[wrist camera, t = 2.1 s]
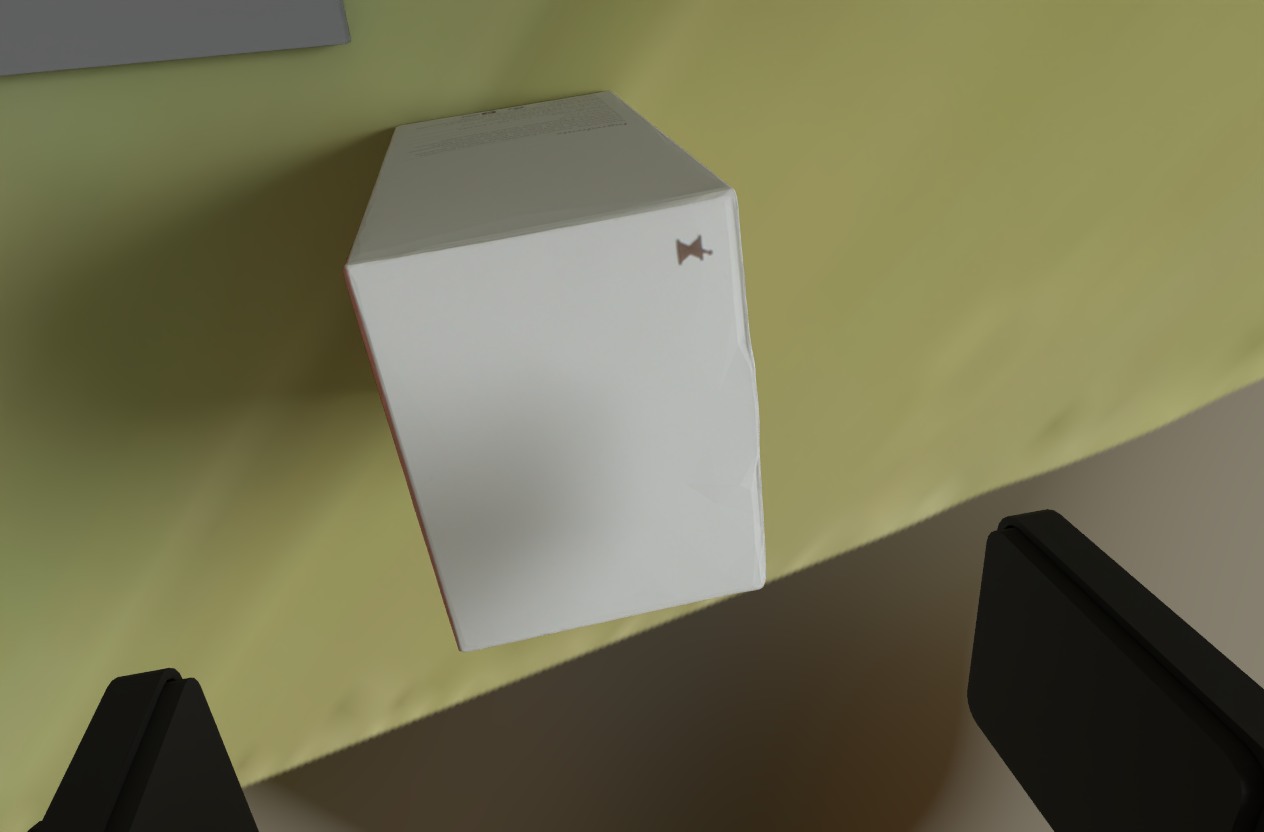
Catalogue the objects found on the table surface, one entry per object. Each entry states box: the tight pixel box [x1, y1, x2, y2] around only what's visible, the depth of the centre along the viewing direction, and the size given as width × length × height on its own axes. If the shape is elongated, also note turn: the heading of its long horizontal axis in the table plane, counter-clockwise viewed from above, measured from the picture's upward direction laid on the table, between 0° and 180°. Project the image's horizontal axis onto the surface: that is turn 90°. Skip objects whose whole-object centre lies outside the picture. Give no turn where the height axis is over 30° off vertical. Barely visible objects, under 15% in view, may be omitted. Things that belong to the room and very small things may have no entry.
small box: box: [343, 91, 766, 652], centre depth 21 cm, size 8×6×13 cm
